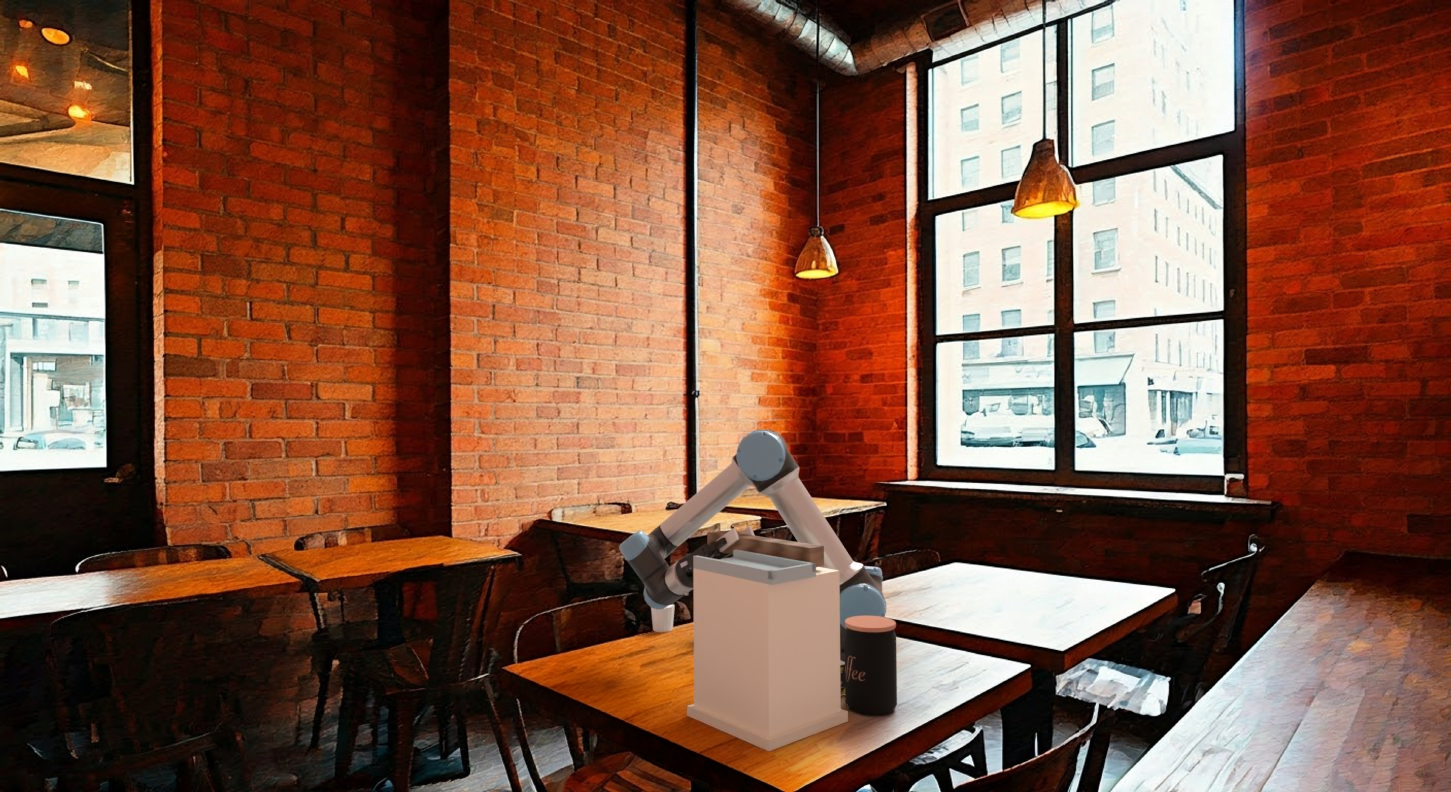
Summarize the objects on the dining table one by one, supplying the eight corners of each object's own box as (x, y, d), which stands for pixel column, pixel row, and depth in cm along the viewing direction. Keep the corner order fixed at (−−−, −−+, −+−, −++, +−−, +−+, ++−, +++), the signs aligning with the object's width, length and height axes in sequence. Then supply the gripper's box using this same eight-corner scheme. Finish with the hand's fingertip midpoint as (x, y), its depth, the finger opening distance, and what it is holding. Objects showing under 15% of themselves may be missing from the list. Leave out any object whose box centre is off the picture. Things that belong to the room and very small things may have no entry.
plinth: (687, 715, 165) (686, 568, 166) (764, 691, 180) (763, 555, 180) (768, 751, 147) (767, 585, 148) (847, 721, 161) (846, 570, 162)
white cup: (671, 633, 229) (671, 608, 229) (647, 632, 231) (647, 607, 231) (677, 627, 236) (677, 603, 236) (654, 626, 237) (654, 602, 238)
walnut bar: (707, 549, 184) (707, 532, 184) (720, 548, 187) (720, 530, 187) (810, 568, 160) (810, 548, 160) (824, 565, 163) (823, 545, 163)
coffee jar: (840, 700, 174) (839, 616, 174) (888, 698, 175) (887, 614, 175) (852, 718, 163) (851, 628, 164) (903, 716, 164) (902, 627, 165)
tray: (693, 568, 166) (693, 556, 166) (736, 561, 174) (736, 549, 174) (771, 585, 149) (771, 571, 149) (816, 576, 156) (815, 563, 157)
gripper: (720, 583, 197) (777, 544, 182) (663, 593, 186) (720, 553, 171) (709, 554, 200) (766, 514, 185) (653, 563, 189) (708, 520, 174)
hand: (744, 532), depth 178 cm, fingers closed on walnut bar, 4 cm apart
